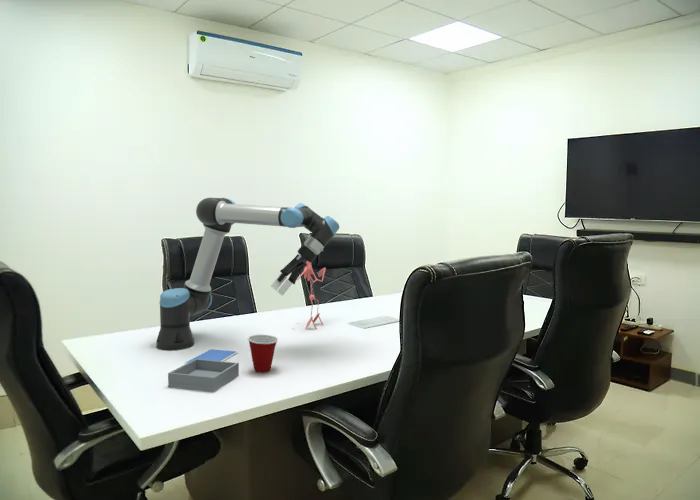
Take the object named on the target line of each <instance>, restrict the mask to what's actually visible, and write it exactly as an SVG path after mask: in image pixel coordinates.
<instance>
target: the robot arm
mask: <svg viewBox="0 0 700 500" xmlns="http://www.w3.org/2000/svg"><path fill="white" fill-rule="evenodd" d="M195 210H196V211H195V213H196V217H197V219H198V221H199V222H201V223H202V226H203V227H204V232H203V235H202V239H201V242H200V245H199V249H198V251H197V254H196V255H197V256H196V259H195V262H194V264H193V268H192V272H191V275H190V278H189V279H188V280H185V282H184V285H183V288H182V287H179V288H178V287H176V288H170V289H166V290H164V291H163V292H161V293H160V295H159V296H160V297H159V314H160V315H159V317H160V318H159V322H160V324H159V325H160V329H159V332H158V336H157V338H156V341H155V342H156V343H155V344H156V345H155V346H156V348H157V349H159V350H165V351H166V350H167V351H175V350H176V351H177V350H178V351H179V350H184V349H188V348H191V347H193V346H194V345H195V338H194V336H193V332H192V329H191V327H190V322H191V321H190V317H193V316H195V315H198V314H199V315H200V314H202V313H204V312H205V311H207V310H208V309H209V308H210V306H211V305H212V302H213V295H212V287H211V285H210V284H211V280H212V278H213V277H212V276H213V273H214V272H215V271H214V270H215V266H216V265H217V261H218V257H219V256H220V255H219V254H220V251H221V248H222V244H223V242H224V238H225V235H228V234H230V231H231V229H232V226H233V225H234V224H243V225H259V226H271V227H273V226H274V227H282V228H290V229H295V228H302V227H303V228H305V229H306V230H307V231H308V232H310V233H311V234H310V235H309V236H308V237H307V239H306V240H304V242H303V244H302V245H301V246H300V247H299V248H298V249H297V254H296V255H295V257H294V258H293V259H292V260H291V261H289V263H287V264H286V265H285V266H284V267H283V268H281V269H280V270H279V272H280V274H279V275H278V277H276V279H274V281H273V282H272V284H271V285H270V287H271V288H272V289H274V290H275V291H276V293H278V294H279V295H280V296H281V297H282V296H284V295H285V293H286V292H287V291H288V289H290V287H291V286H292V285H296V282H297V281H298V280H297V279H298V278H299V276H300V275H301V274H302V273H303V271H304V268H305V267H306V265H307V264H306V261H309V262H310V263H313V262H314V261H315V259H316V258H317V257H318V256H319V254H320V253H321V252H324V248H325V247H326V246H327V245H328V244H329V242H330V241H331V240H332V239H333V238H334V237H335V235H336V234H337V232H338V230H339V229H340V223H338V222H337V220H335V218H333V217H331V216H330V215H326V216H325V217H323V216H320V215H319V214H318V213H317V212H315V211H314V210H313V209H311V208H310V207H309V206H308V205H305V204H304V203H301V202H299V203H298V204H296V205H295V206H294V207H287V206H286V207H283V206H272V205H271V206H270V205H254V204H253V205H252V204H240V203H239V204H237V203H236V202H235V201H234V200H232V199H230V198H225V197H205V198H203V199H202V200H200V201H199V202H198V204H197V206H196V209H195ZM289 275H290V276H289ZM288 276H289V277H288ZM287 278H288V279H287Z"/></svg>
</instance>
